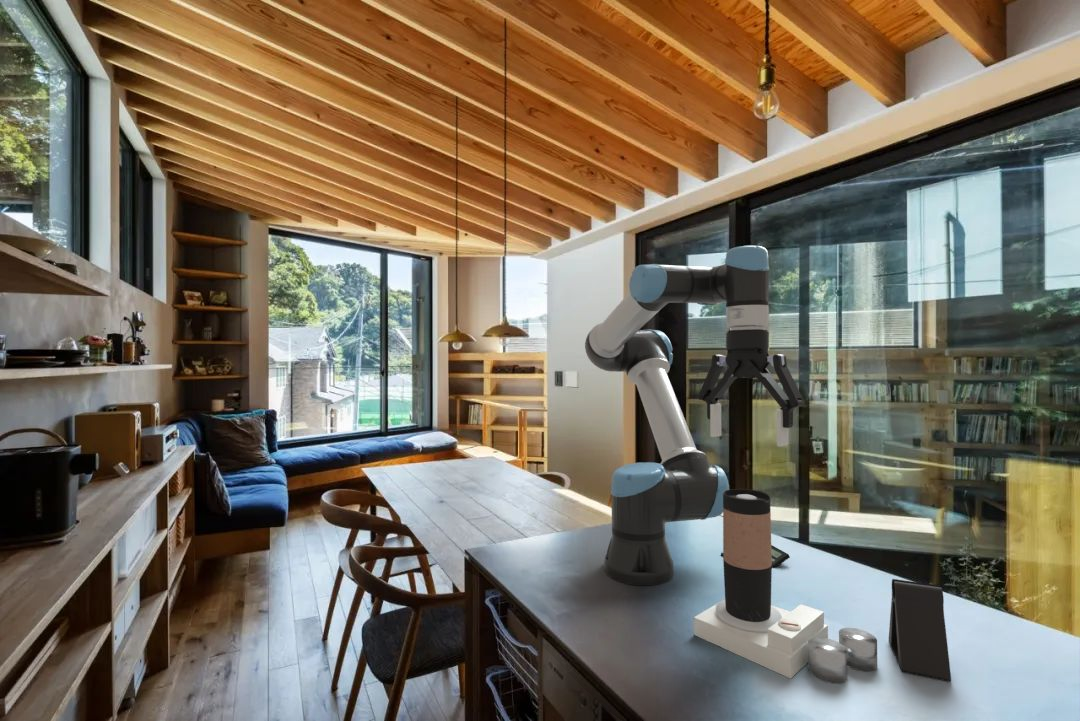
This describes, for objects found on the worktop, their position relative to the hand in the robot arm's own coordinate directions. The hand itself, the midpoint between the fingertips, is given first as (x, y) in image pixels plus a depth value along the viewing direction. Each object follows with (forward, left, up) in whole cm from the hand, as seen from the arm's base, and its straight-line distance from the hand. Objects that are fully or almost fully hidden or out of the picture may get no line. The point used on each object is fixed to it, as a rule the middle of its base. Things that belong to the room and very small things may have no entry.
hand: (747, 440), depth 97 cm
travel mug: (+5, -10, -28) cm, 30 cm away
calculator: (-10, +22, -32) cm, 40 cm away
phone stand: (+26, +2, -32) cm, 41 cm away
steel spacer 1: (+18, -12, -31) cm, 38 cm away
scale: (+7, -10, -31) cm, 34 cm away
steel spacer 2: (+20, -5, -31) cm, 38 cm away
